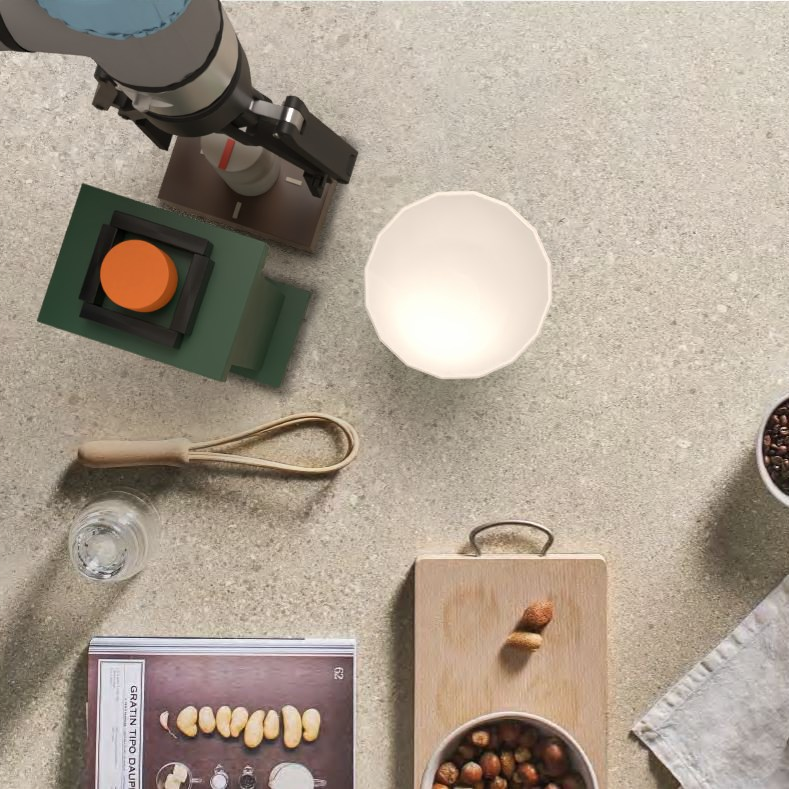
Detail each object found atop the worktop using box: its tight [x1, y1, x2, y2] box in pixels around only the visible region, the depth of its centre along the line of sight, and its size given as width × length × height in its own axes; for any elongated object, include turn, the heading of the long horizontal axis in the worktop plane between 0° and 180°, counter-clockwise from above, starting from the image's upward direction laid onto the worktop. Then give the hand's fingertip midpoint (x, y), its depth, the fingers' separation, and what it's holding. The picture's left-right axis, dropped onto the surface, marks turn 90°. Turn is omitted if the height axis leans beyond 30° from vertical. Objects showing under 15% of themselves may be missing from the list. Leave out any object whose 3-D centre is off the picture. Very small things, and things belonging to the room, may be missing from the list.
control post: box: [36, 182, 313, 390], centre depth 66 cm, size 12×9×26 cm
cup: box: [362, 190, 553, 380], centre depth 71 cm, size 14×14×16 cm
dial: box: [201, 127, 280, 196], centre depth 72 cm, size 5×5×8 cm
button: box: [100, 240, 178, 312], centre depth 52 cm, size 4×4×2 cm
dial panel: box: [157, 134, 348, 254], centre depth 77 cm, size 14×10×3 cm
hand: (244, 158), depth 73 cm, fingers open, 13 cm apart
